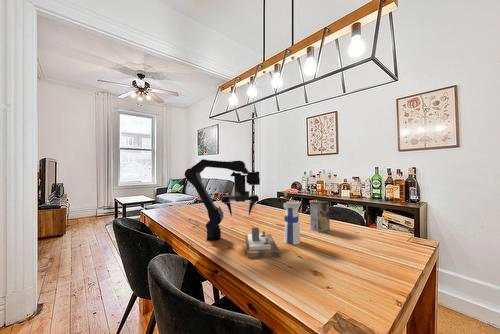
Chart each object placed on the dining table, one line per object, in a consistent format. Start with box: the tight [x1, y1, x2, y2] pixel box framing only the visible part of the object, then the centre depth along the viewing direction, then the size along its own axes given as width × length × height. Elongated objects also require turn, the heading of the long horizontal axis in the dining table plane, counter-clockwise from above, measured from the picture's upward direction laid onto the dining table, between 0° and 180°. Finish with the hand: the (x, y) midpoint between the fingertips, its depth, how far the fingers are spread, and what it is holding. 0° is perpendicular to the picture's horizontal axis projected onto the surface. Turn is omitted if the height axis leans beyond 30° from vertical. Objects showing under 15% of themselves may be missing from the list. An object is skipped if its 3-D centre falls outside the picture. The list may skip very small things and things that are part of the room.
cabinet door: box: [247, 227, 271, 250], centre depth 99 cm, size 9×16×6 cm, turn 4°
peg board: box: [244, 230, 281, 259], centre depth 99 cm, size 13×22×6 cm, turn 4°
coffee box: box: [309, 200, 331, 233], centre depth 123 cm, size 9×6×16 cm
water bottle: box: [283, 190, 301, 246], centre depth 105 cm, size 8×9×25 cm
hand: (240, 215), depth 110 cm, fingers open, 9 cm apart
